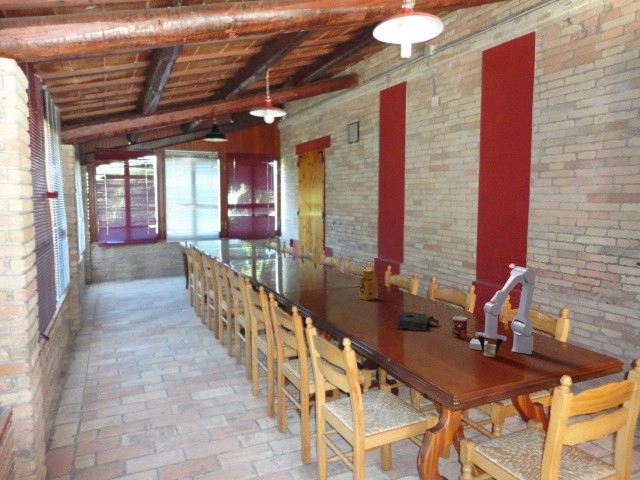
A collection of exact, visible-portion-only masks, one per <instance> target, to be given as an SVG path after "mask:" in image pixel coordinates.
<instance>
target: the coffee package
mask: <svg viewBox="0 0 640 480" xmlns="http://www.w3.org/2000/svg"><path fill="white" fill-rule="evenodd" d="M362 273H363V275H362V278H361V279H360V282H359V295H358V296H359V299H361V300H363V301H369V300H372V301H373V300H375V299H377V288H378V283H377V275H376V272H375V269H372V270H363V271H362Z"/></svg>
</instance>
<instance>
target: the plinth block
mask: <svg viewBox="0 0 640 480" xmlns="http://www.w3.org/2000/svg"><path fill="white" fill-rule="evenodd" d="M485 344H489V340H485V342H484V346H485ZM468 345H469V347H468V348H469V349H470V350H476V351H482V347H481V344H480V342H479V339H477V338H476V339H475V338H472V339H471V340H470V342H469V344H468Z"/></svg>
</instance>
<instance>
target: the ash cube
mask: <svg viewBox="0 0 640 480" xmlns="http://www.w3.org/2000/svg"><path fill="white" fill-rule="evenodd" d="M496 355H497V354H496V344H492V343H488V344H485V346H484V352H483V356H484V357H490V358H495V357H496Z"/></svg>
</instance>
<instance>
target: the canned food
mask: <svg viewBox="0 0 640 480" xmlns="http://www.w3.org/2000/svg"><path fill="white" fill-rule="evenodd" d="M451 328H452V330H451V336H452V338H456V339H466V338H467V334H468V317H466V316H462V315H459V316H458V315H454V316H453V317H452V326H451Z"/></svg>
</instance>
